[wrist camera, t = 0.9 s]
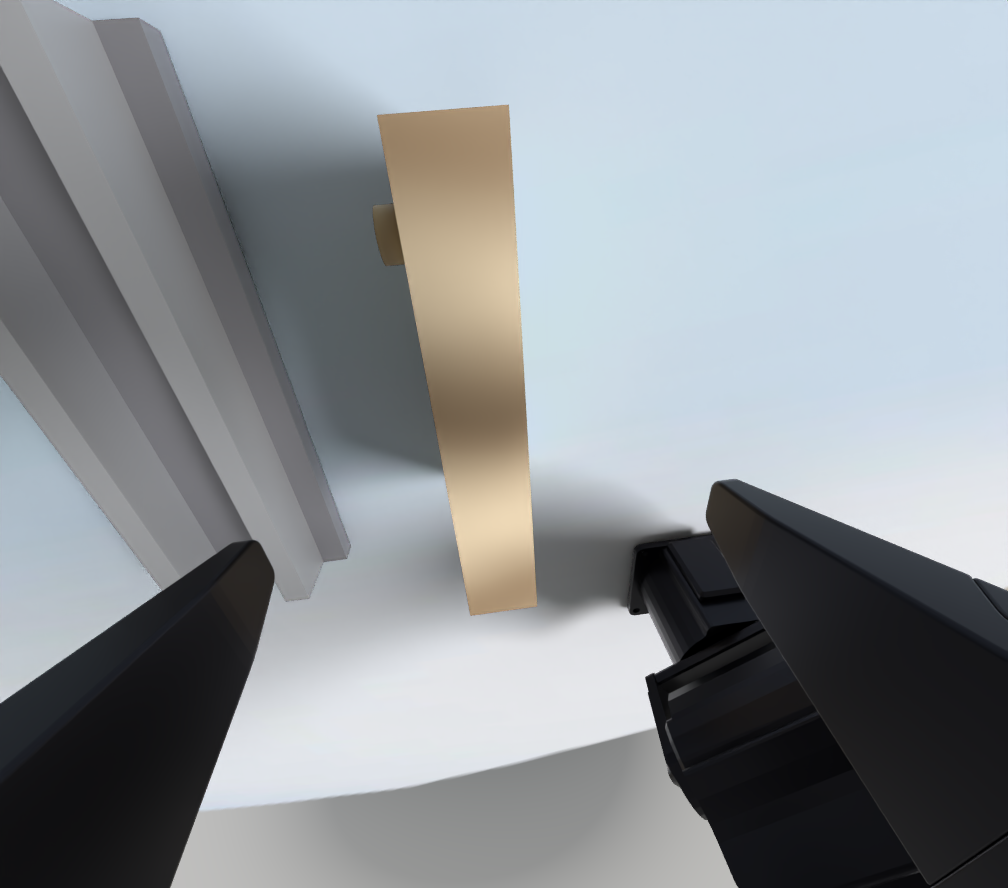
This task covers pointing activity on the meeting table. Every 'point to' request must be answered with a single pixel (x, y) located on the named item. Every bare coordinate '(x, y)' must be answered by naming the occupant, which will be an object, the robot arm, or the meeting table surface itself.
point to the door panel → (467, 330)
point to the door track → (143, 307)
